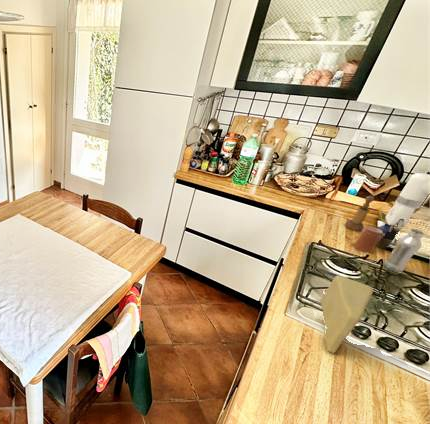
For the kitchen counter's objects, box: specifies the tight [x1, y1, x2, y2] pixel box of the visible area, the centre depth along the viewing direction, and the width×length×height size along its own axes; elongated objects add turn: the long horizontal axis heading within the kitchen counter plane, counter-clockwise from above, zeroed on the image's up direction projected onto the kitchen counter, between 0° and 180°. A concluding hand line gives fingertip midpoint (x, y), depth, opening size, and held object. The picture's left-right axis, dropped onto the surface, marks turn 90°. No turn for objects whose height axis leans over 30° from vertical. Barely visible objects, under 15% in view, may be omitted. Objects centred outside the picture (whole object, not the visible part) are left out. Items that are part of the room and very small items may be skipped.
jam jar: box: [353, 225, 384, 253], centre depth 139 cm, size 7×7×10 cm
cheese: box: [319, 275, 374, 354], centre depth 96 cm, size 22×10×15 cm, turn 138°
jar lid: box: [378, 224, 390, 235], centre depth 140 cm, size 7×7×2 cm
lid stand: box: [376, 235, 393, 250], centre depth 143 cm, size 5×5×4 cm
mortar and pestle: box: [344, 195, 375, 232], centre depth 154 cm, size 7×6×18 cm
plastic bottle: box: [382, 228, 425, 273], centre depth 122 cm, size 6×7×20 cm
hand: (386, 235), depth 141 cm, fingers closed on jar lid, 6 cm apart
